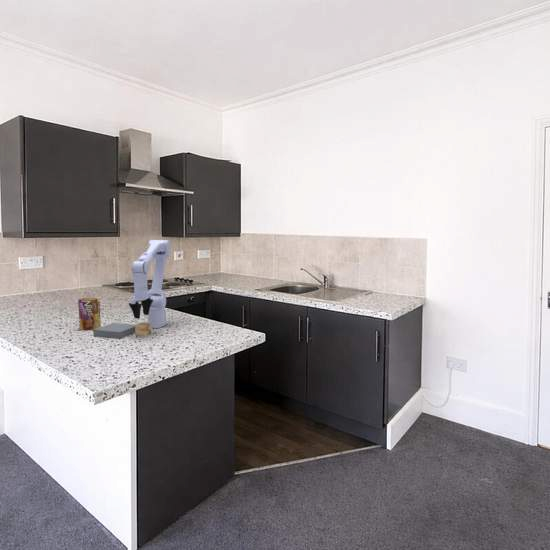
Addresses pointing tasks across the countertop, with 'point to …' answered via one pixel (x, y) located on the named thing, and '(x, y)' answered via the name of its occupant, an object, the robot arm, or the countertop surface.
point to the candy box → (89, 313)
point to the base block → (115, 330)
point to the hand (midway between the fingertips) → (141, 316)
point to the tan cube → (142, 328)
